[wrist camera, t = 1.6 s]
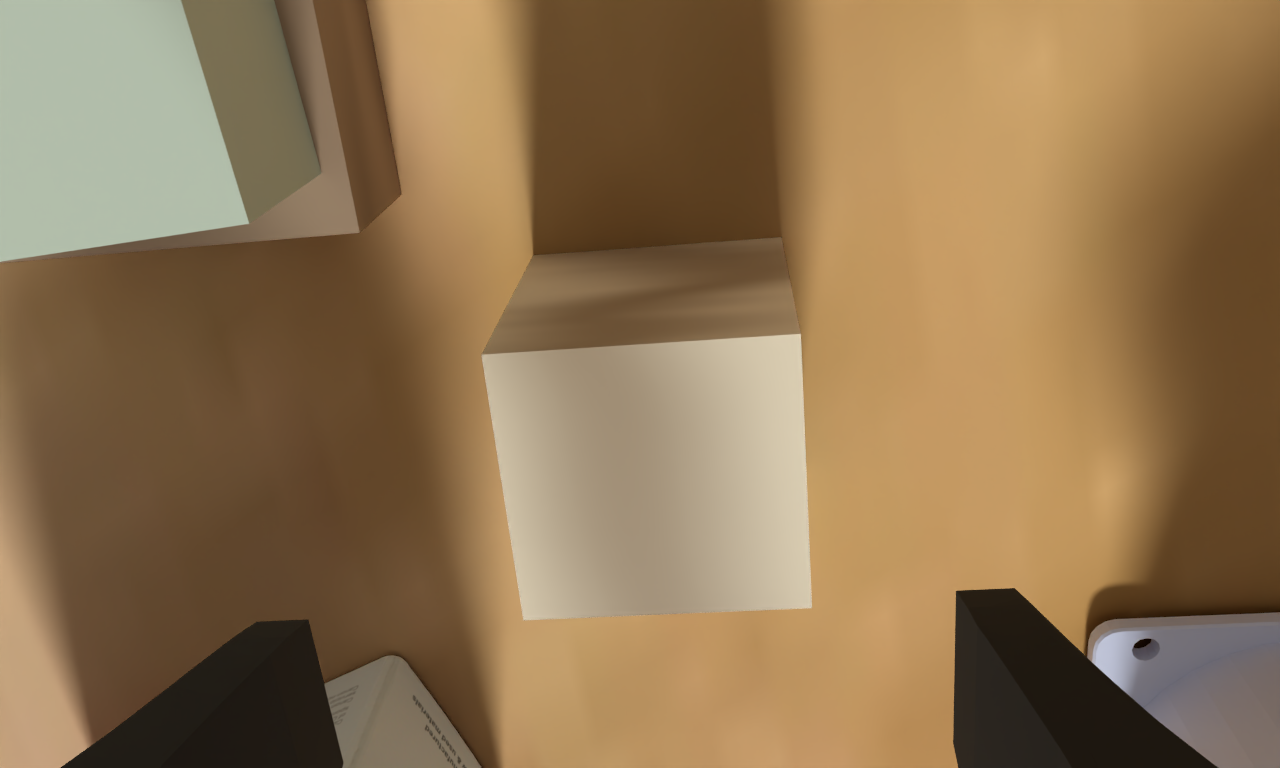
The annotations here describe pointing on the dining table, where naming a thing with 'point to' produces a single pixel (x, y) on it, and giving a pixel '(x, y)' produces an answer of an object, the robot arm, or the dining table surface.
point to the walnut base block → (317, 136)
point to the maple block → (653, 431)
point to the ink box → (392, 720)
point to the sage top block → (143, 120)
